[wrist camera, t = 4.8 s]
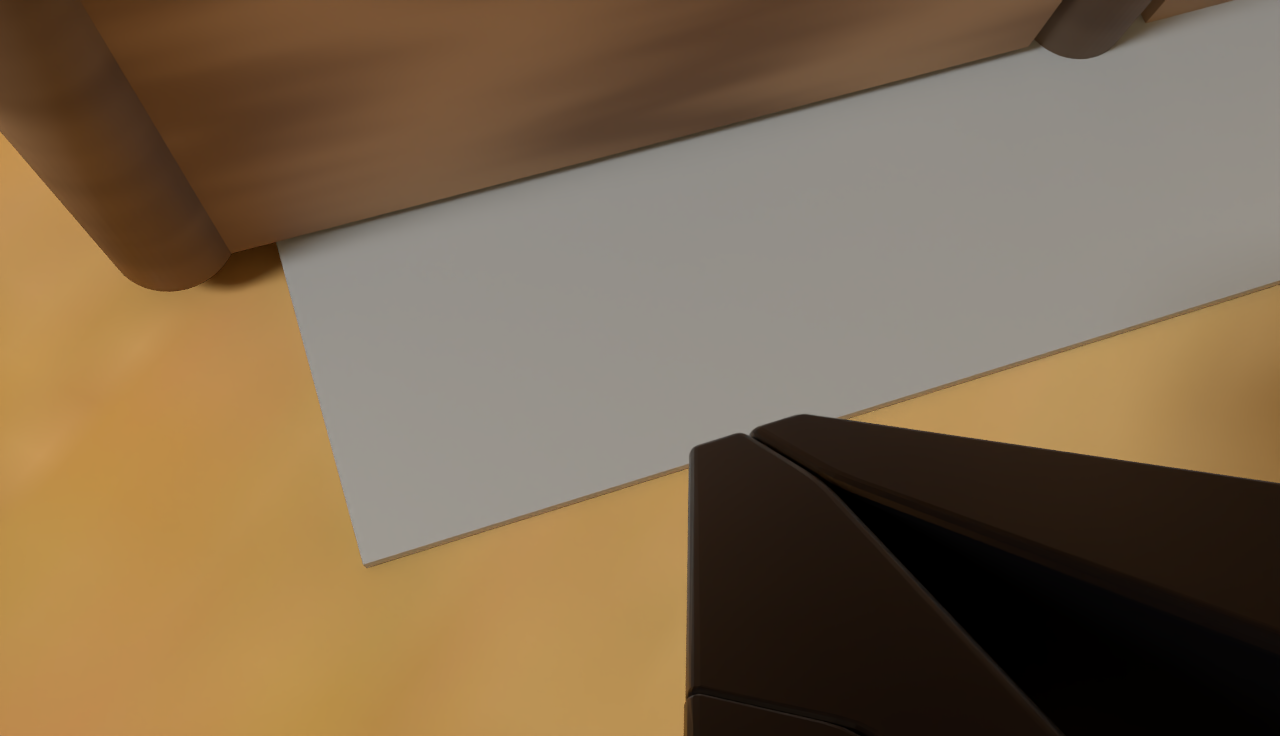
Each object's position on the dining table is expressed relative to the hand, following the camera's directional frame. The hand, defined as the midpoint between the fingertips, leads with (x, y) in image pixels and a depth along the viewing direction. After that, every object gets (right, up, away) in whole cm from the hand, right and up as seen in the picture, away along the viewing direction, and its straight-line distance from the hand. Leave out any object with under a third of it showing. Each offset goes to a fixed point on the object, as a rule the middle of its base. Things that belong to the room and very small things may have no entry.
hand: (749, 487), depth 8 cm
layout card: (+5, +7, +14) cm, 17 cm away
